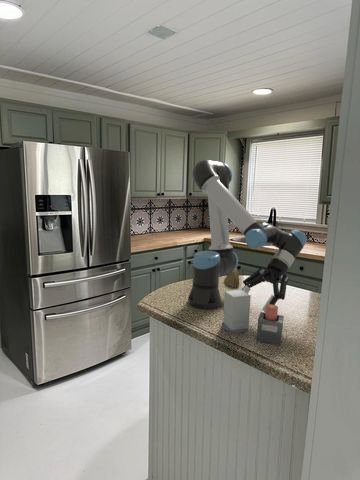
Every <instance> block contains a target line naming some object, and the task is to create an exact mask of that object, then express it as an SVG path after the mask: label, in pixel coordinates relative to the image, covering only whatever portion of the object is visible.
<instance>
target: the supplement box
mask: <svg viewBox="0 0 360 480" xmlns="http://www.w3.org/2000/svg"><path fill="white" fill-rule="evenodd" d="M223 295H224V297H223V298H224V299H223V318H222V322H223V323H224V324H225V325H227V326H228V327H229V328H230V329H231V330H236V329H245V328H249V327H250V326H249V325H250V314H251V313H250V312H251V311H250V310H251V299H252V298H251V295H250V294H249V293H248V294H247V293H245V292H244V291H242V289H237V290H235V289H234V290H225V291H224V294H223Z"/></svg>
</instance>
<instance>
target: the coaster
mask: <svg viewBox="0 0 360 480" xmlns="http://www.w3.org/2000/svg"><path fill="white" fill-rule="evenodd" d="M222 328H223V329H224V330H223V329H222ZM221 329H222V330H223V331H224V332H227V331H228V332H227V333H229V332H231V333H230V334H234V333H239V334H240V333H242V334H246V333H247V332H248V331H249V328H245V329H236V330H231V329H230V328H229V327H228V326H227V325H225V324H224V323H223V321H222V322H221ZM239 334H238V335H239ZM240 335H241V334H240Z"/></svg>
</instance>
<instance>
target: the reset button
mask: <svg viewBox="0 0 360 480" xmlns="http://www.w3.org/2000/svg"><path fill="white" fill-rule="evenodd" d="M278 312H279V307H278V305H276V304H275V305H272V304H268V305H266V313H265V312H264V313H265V319H267V320H273V321H277V315H279V314H278Z"/></svg>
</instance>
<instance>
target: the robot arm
mask: <svg viewBox="0 0 360 480" xmlns="http://www.w3.org/2000/svg"><path fill="white" fill-rule="evenodd" d="M191 172H192V173H191V176H192V180H193V182H194V184H195V185H196V186H197V188H198V189H199V190H200V191H201V192H202V193H204V194H207V200H208V201H207V203H208V212H209V213H208V214H209V227H210V240H211V241H210V242H211V245H210V246H209V247H208V250H205V251H204V250H202V251H199V252H196V253H195V254H194V255H193V261H192V266H193V267H192V286H191V290H190V292H189V294H188V298H187V304H188V305H189V306H190V307H192V308H195V309H198V310H199V309H200V310H215V309H218V308H220V307H221V306H222V297H221V293H220V290H219V281H220V280H219V279H220V278H221V277H224V276H227V275H228V274H230V273H232V272H233V271H234V270H235V269H236V268H237V269H238V265H239V259H238V256H237V254H236V253H235V252H234V246H233V245H232V244H231V243H230V233H229V232H230V231H229V220H230V221H231V222H232V224H234V226H235V227H236V229H238V231H240V233H241V234H242V235H243V236H244V241H245V244H246V245H247V246H248V247H249V248H251V249H262V248H263V247H266V246H272V247H275V248H277V251H276V253H274V255H273V257H272V258H271V260H270V261H269V262H268V264H267V268H265V269H263V268H262V267H259V268H258V269H257V270H256V271H255V272H253V273H252V274H251V275H250V276H248V277H246V278H245V279H244V280H242V284H243V285H244V286H243V287H242V288H241V290H242V291H244V292H245V293H247V294H249V292H250V291H251V288H252V287H255V286H257V285H259V284H261V283H266V282H267V283H270V284H272V288H273V290H272V291H273V294H271V295H270V297H269V299H268V300H267V301H266V302H265V304H264V305H263V307H262V308H261V310H262V312H263V311H264V312H263V313H266V305H268V304H272V305H276V303H277V302H278V301H279V300H282V301H283V300H285V298H286V293H287V291H286V290H287V286H288V285H287V284H288V281H289V280H290V279H289V277H288V275H287V272H288V270H289V269H290V267H291V266H292V265H293V263H294V261H296V258H297V257H298V256H299V254H300V253H301V252H302V251H303V249H304V247H305V245H306V243H307V242H308V237H307V235H306V233H304V232H302V231H301V230H297V229H292V230H291V231H290V232H288V231H284V230H282V229H280V228H278V227H277V226H274V225H272V224H270V223H267V222H262V223H261V224H260V223H259V222H258V221H257V219H255V217H254V216H253V215H252V214H251V213H250V212H249V211H248V210H247V209H246V208H245V207H244V205H242V203H241V202H240V201H239V200H238V199H237V198H236V197H235V196H234V195H233V194H232V192H231V191H230V190H229V189H230V186H229V185H230V184H231V182H232V179H233V171H232V168H231V167H230V166H229V165H228V164H226V163H225V162H222V161H216V160H210V159H201V160H199V161H197V163H195V164H194V166H193V168H192V171H191ZM279 281H280V285H279Z"/></svg>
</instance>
